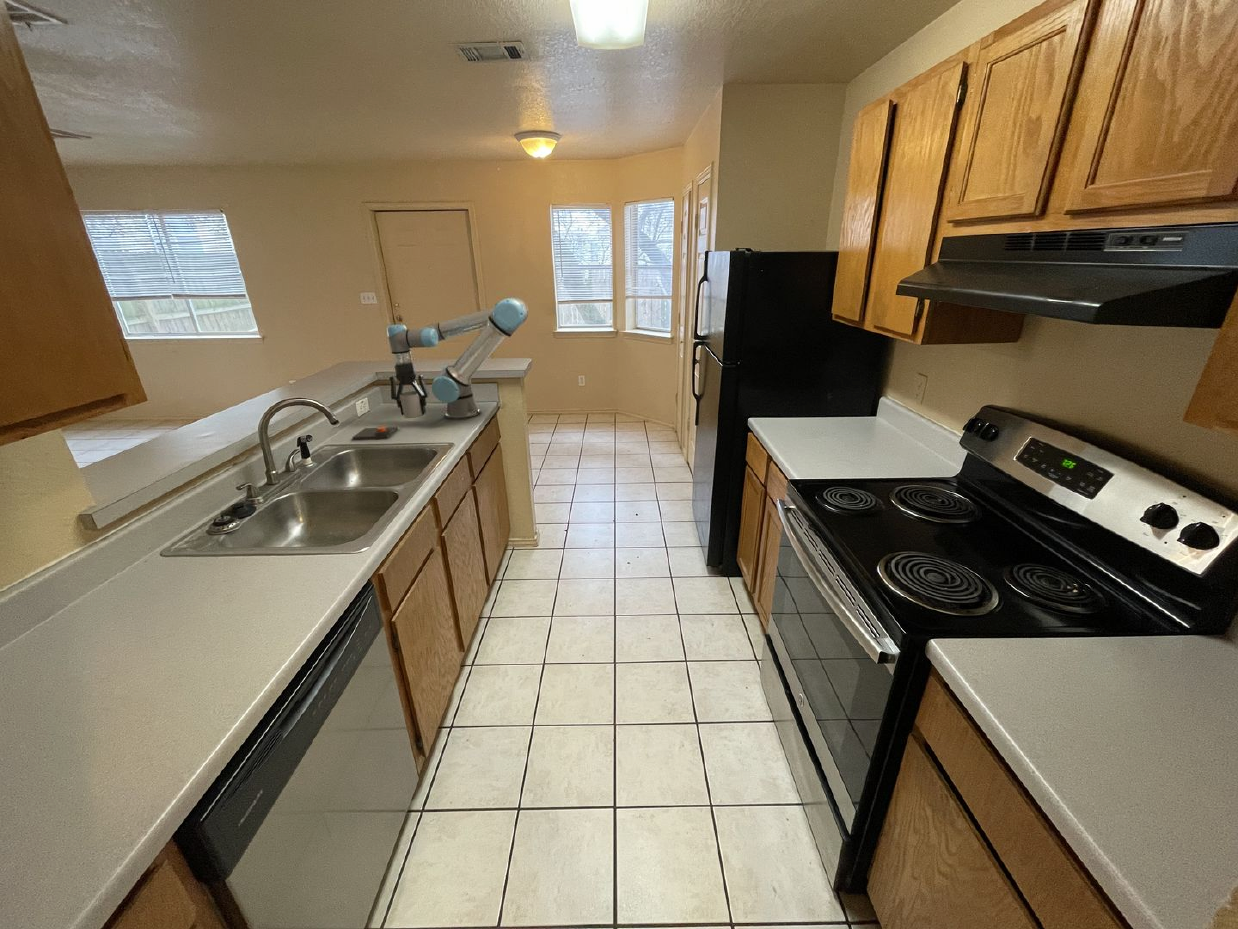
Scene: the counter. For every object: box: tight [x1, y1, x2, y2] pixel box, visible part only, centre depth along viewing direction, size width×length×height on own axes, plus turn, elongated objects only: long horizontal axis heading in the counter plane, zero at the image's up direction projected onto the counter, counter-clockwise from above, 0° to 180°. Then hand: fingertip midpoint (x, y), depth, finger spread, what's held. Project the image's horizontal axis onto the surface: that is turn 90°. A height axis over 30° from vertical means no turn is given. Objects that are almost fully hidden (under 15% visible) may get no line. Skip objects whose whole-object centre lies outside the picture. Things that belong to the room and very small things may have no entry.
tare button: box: [377, 426, 387, 432], centre depth 209 cm, size 3×3×2 cm
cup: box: [400, 390, 425, 419], centre depth 222 cm, size 8×8×10 cm
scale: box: [352, 426, 399, 441], centre depth 213 cm, size 14×12×3 cm
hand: (413, 413), depth 224 cm, fingers closed on cup, 8 cm apart
